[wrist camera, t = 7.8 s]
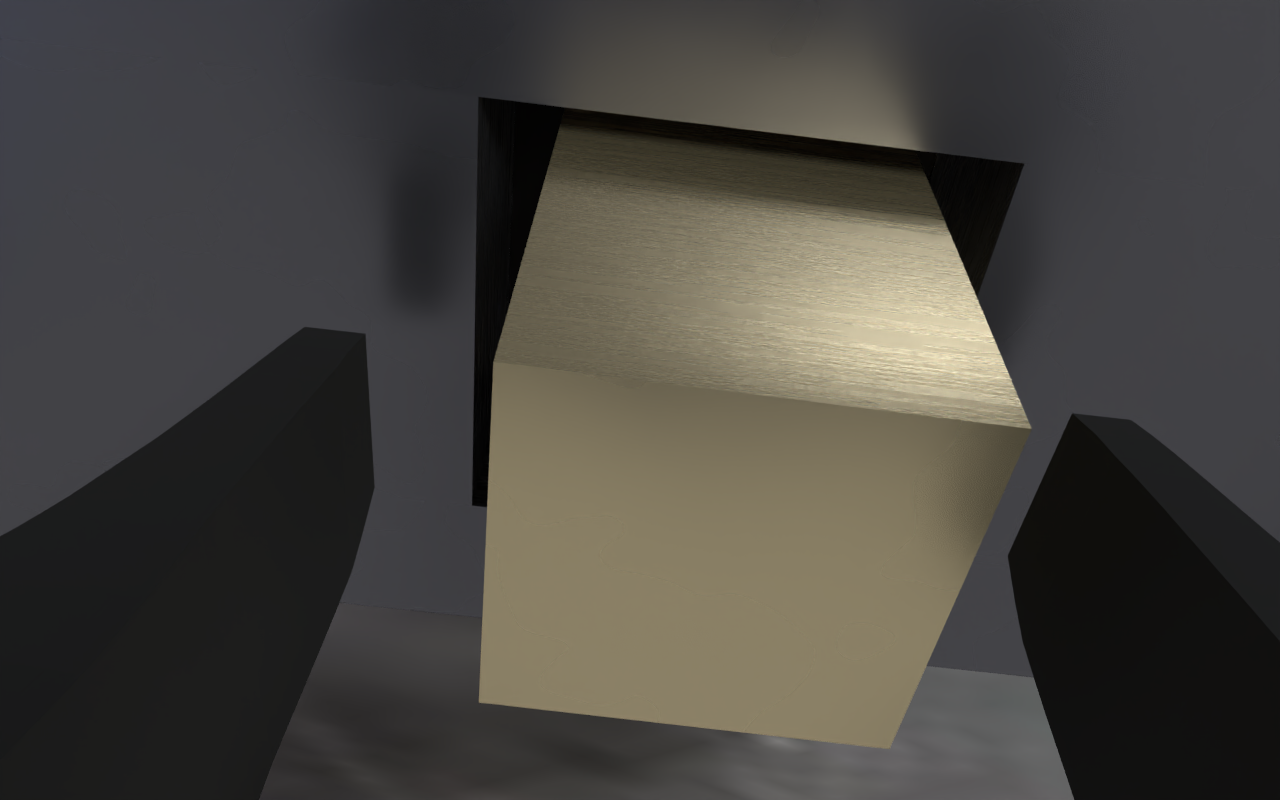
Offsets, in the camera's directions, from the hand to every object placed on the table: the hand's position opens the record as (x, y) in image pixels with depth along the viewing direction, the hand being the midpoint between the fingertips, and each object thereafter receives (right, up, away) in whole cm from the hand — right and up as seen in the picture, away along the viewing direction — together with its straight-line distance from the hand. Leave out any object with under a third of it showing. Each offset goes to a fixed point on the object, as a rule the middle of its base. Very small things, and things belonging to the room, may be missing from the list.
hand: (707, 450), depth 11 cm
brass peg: (0, +3, +4) cm, 5 cm away
